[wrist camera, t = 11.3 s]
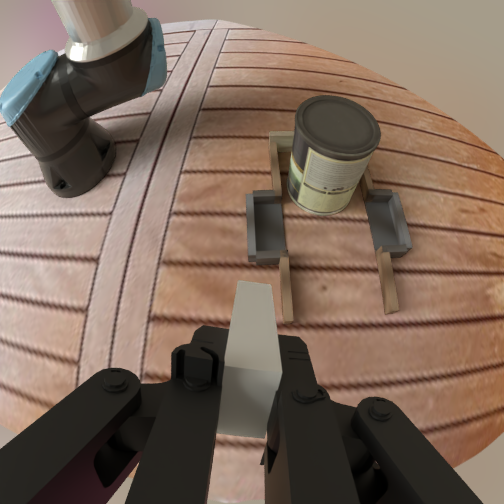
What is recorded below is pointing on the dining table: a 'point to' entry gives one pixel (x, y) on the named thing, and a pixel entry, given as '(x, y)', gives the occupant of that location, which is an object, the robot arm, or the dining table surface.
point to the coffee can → (329, 153)
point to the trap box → (272, 231)
